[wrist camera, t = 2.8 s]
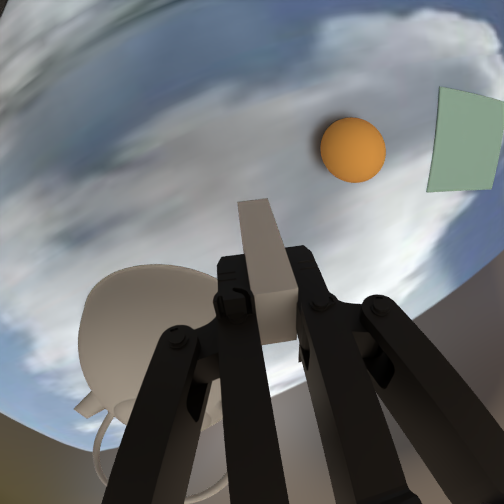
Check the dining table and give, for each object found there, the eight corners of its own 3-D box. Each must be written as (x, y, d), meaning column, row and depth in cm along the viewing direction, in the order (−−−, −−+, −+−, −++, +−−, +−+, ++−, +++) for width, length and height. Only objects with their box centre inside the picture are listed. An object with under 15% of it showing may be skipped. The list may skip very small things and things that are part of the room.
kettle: (128, 385, 46) (121, 508, 28) (41, 295, 32) (-12, 456, 14) (271, 357, 44) (299, 502, 26) (220, 237, 30) (241, 482, 12)
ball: (311, 112, 24) (334, 127, 19) (368, 111, 24) (400, 127, 19) (312, 170, 27) (332, 196, 23) (366, 166, 27) (393, 191, 23)
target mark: (439, 86, 22) (440, 86, 22) (505, 102, 23) (506, 102, 23) (426, 191, 29) (427, 192, 29) (490, 188, 30) (491, 189, 30)
